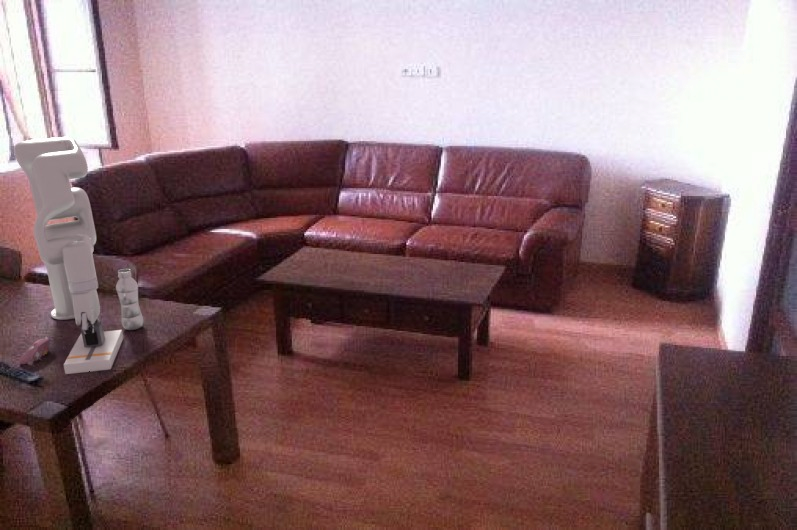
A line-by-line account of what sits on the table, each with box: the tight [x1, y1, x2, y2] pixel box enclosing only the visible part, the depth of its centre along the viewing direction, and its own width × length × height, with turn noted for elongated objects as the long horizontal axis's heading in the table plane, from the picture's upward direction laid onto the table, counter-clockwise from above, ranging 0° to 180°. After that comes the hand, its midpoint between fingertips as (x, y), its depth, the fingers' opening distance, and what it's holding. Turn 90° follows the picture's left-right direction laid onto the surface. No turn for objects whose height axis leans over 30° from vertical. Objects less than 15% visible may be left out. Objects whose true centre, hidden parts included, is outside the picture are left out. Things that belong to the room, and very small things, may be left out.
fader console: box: [63, 329, 124, 375], centre depth 191 cm, size 20×12×3 cm, turn 12°
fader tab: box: [80, 320, 105, 347], centre depth 191 cm, size 4×5×6 cm
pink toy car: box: [18, 336, 55, 365], centre depth 190 cm, size 10×5×7 cm, turn 169°
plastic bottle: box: [115, 268, 144, 331], centre depth 205 cm, size 6×7×20 cm
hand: (94, 340), depth 191 cm, fingers closed on fader tab, 4 cm apart
